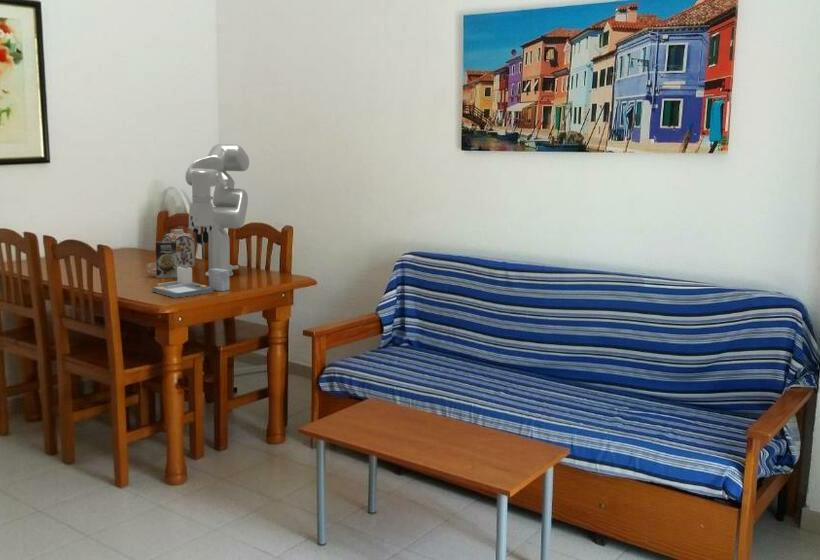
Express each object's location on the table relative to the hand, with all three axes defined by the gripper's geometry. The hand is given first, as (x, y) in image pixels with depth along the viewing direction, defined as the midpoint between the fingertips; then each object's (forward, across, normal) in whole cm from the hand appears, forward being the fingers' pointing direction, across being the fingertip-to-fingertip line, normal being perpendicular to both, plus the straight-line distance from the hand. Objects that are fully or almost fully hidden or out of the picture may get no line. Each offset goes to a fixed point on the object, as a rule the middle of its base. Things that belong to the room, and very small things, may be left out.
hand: (202, 242), depth 344 cm
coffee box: (+19, 0, -30) cm, 35 cm away
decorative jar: (+19, -20, -50) cm, 57 cm away
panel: (+19, +13, +4) cm, 24 cm away
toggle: (+17, +9, 0) cm, 19 cm away
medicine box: (+19, -2, +10) cm, 22 cm away
